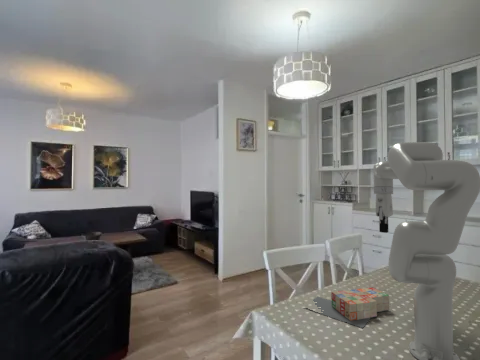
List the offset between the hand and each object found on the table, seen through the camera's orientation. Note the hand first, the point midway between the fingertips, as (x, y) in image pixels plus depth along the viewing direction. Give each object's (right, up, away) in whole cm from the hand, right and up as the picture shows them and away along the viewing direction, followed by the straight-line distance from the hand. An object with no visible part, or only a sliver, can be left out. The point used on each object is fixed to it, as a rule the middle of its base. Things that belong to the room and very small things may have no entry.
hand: (383, 232), depth 117 cm
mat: (-23, -31, -7) cm, 40 cm away
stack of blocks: (-15, -28, -1) cm, 31 cm away
